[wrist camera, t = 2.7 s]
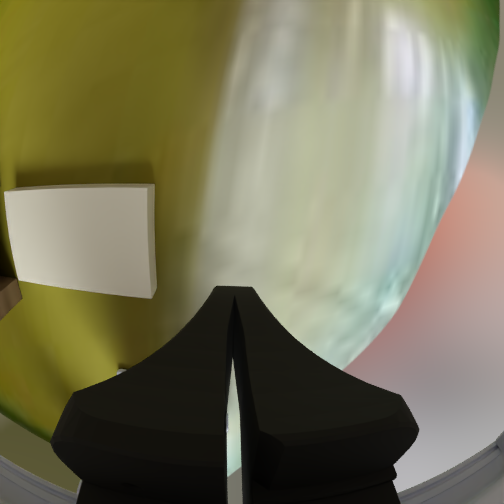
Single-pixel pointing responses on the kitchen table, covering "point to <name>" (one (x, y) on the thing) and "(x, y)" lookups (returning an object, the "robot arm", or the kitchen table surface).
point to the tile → (85, 237)
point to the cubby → (8, 294)
